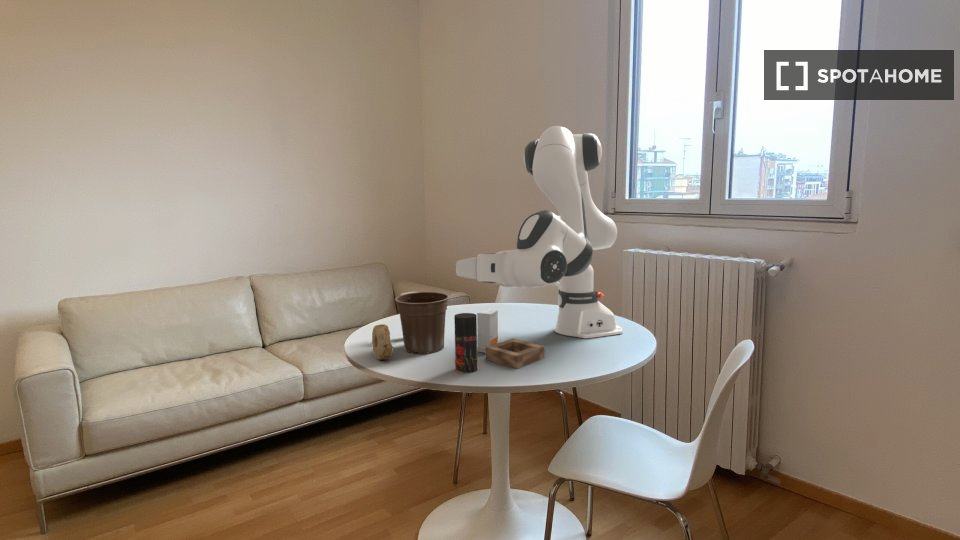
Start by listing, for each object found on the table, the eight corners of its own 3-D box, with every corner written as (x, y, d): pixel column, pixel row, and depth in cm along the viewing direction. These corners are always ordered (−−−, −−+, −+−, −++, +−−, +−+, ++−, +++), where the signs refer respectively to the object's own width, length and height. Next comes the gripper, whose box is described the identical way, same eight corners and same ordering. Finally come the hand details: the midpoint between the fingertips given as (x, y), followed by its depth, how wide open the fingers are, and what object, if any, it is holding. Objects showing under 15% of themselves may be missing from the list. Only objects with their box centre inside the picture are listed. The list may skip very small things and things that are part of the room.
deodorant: (480, 371, 146) (479, 316, 143) (459, 374, 143) (458, 319, 141) (472, 364, 151) (471, 312, 149) (452, 367, 149) (451, 314, 146)
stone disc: (370, 355, 161) (368, 322, 159) (382, 353, 163) (380, 320, 161) (381, 364, 152) (380, 330, 150) (394, 362, 154) (392, 328, 152)
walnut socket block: (544, 358, 156) (544, 346, 155) (517, 368, 147) (517, 356, 147) (512, 349, 164) (512, 338, 163) (485, 359, 155) (485, 347, 155)
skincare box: (489, 353, 161) (489, 314, 159) (477, 351, 163) (476, 312, 161) (498, 348, 166) (498, 309, 164) (486, 346, 168) (485, 308, 166)
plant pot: (413, 360, 156) (411, 305, 153) (387, 347, 169) (385, 296, 166) (460, 349, 165) (459, 297, 163) (432, 337, 178) (431, 289, 176)
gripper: (543, 257, 135) (510, 259, 146) (475, 253, 123) (444, 256, 135) (543, 282, 134) (510, 282, 146) (474, 281, 123) (444, 281, 134)
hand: (478, 270), depth 140 cm, fingers open, 8 cm apart
